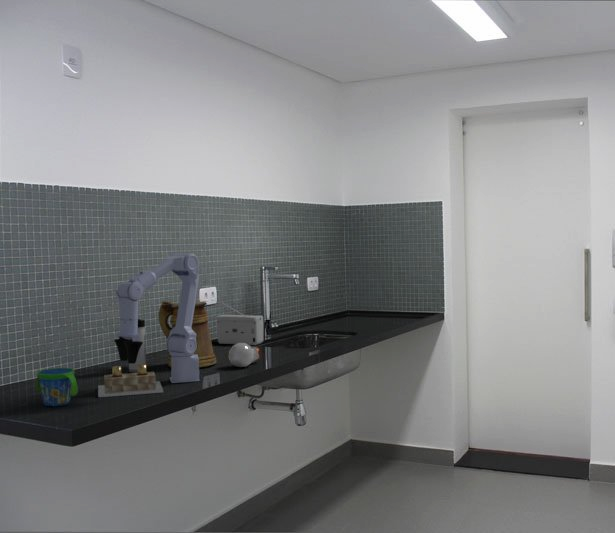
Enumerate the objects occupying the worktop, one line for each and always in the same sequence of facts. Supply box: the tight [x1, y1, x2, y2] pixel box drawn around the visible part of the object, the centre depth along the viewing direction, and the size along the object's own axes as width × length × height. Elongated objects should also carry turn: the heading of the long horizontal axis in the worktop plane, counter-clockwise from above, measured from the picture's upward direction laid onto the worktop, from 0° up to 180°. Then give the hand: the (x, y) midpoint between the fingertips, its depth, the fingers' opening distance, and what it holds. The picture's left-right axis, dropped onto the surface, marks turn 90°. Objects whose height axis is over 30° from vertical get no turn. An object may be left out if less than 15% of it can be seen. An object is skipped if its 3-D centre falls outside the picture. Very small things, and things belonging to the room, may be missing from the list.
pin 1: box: [111, 365, 122, 377], centre depth 234 cm, size 3×3×4 cm
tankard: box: [158, 300, 217, 368], centre depth 279 cm, size 18×24×25 cm
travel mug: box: [128, 318, 147, 373], centre depth 268 cm, size 6×7×20 cm
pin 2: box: [138, 364, 148, 376], centre depth 236 cm, size 3×3×4 cm
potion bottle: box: [228, 343, 262, 368], centre depth 276 cm, size 9×10×15 cm
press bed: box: [97, 380, 164, 398], centre depth 235 cm, size 20×14×1 cm
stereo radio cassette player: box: [216, 300, 264, 347], centre depth 332 cm, size 21×8×20 cm, turn 69°
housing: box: [103, 371, 157, 392], centre depth 235 cm, size 16×7×4 cm, turn 106°
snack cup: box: [35, 367, 79, 407], centre depth 217 cm, size 16×10×10 cm
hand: (127, 362), depth 230 cm, fingers open, 7 cm apart
